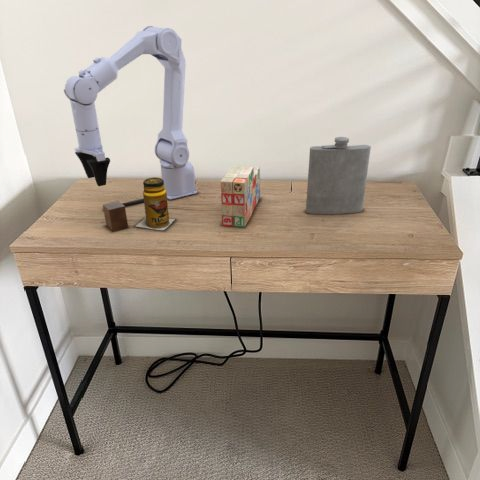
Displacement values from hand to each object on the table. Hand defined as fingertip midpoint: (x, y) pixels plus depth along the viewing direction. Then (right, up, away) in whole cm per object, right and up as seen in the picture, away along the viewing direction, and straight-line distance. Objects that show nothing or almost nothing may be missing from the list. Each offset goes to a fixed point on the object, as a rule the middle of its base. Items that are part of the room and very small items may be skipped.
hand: (96, 181), depth 136 cm
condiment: (+16, -11, 0) cm, 20 cm away
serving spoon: (+7, -4, +11) cm, 14 cm away
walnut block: (+6, -12, -1) cm, 14 cm away
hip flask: (+65, -7, +5) cm, 66 cm away
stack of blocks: (+39, -7, +6) cm, 40 cm away
